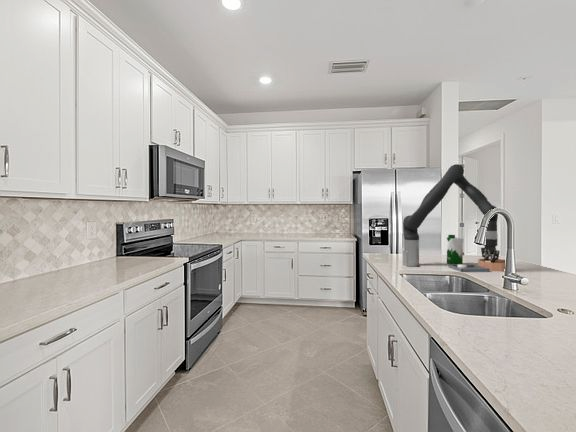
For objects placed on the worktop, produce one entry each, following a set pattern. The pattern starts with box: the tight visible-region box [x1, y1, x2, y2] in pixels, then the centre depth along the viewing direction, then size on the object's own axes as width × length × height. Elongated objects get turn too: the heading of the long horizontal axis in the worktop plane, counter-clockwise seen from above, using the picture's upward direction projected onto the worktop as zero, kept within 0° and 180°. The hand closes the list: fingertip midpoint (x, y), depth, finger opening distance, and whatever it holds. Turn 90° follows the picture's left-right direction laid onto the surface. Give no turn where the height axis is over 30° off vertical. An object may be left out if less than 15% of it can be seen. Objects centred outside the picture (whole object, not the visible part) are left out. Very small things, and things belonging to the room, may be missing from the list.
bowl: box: [477, 257, 506, 273], centre depth 191 cm, size 18×18×6 cm
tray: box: [448, 263, 491, 273], centre depth 189 cm, size 16×14×2 cm
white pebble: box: [456, 263, 467, 269], centre depth 189 cm, size 5×5×3 cm
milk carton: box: [445, 234, 464, 265], centre depth 209 cm, size 9×9×20 cm
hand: (489, 265), depth 191 cm, fingers closed on sandstone pebble, 5 cm apart
